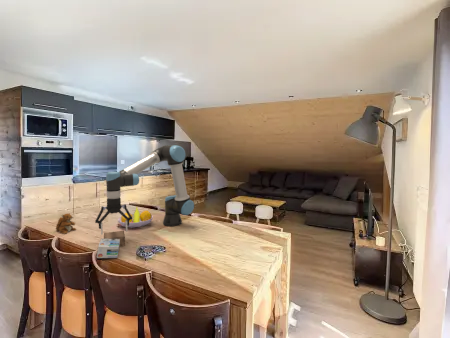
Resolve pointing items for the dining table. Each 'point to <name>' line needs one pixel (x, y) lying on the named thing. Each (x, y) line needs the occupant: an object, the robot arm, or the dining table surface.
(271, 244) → the dining table surface
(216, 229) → the dining table surface
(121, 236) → the walnut step
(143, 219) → the fruit bowl
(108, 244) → the light bulb box
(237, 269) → the dining table surface
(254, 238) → the dining table surface
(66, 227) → the stuffed squirrel
